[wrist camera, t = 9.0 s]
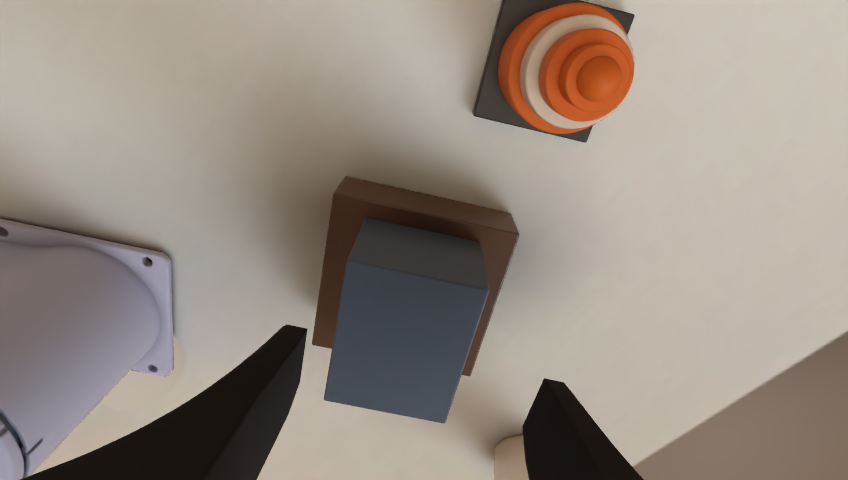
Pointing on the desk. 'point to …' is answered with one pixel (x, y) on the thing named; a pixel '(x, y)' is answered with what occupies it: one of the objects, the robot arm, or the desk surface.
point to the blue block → (406, 320)
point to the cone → (556, 66)
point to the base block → (418, 212)
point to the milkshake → (510, 460)
